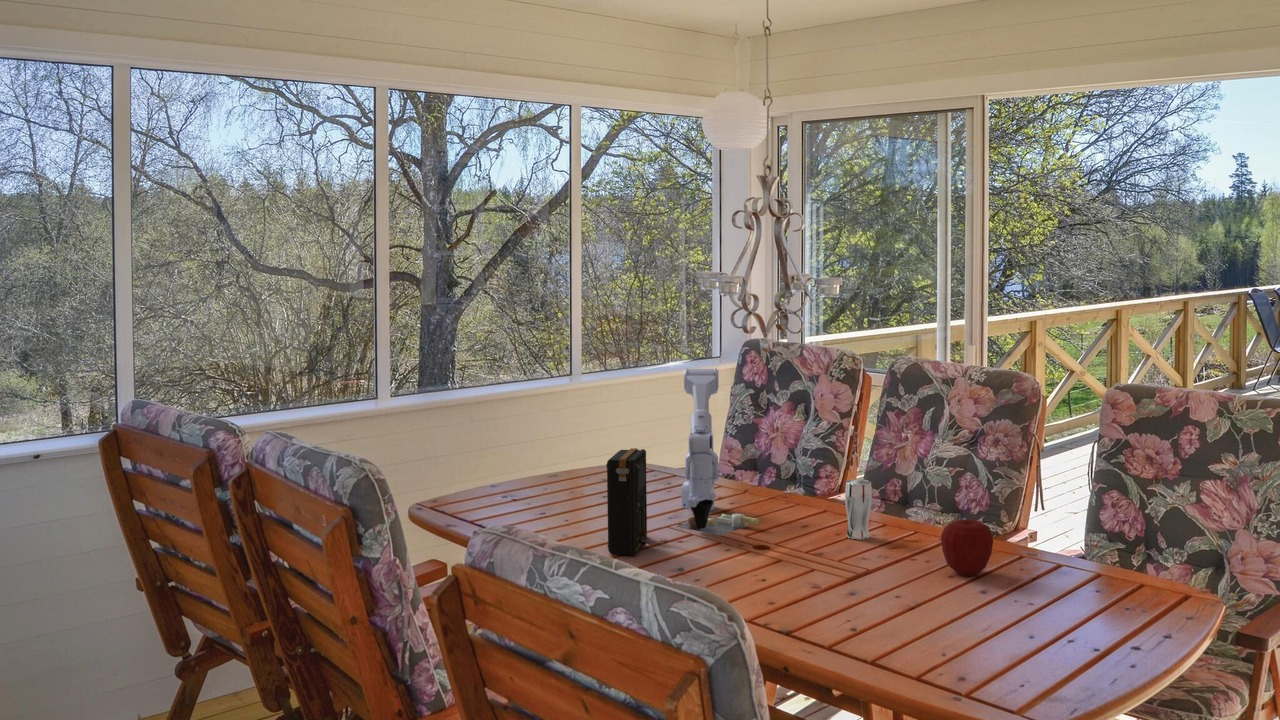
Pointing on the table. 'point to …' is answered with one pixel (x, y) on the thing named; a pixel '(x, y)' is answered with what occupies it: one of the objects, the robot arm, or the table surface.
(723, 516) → the bubble vial
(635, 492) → the voltmeter
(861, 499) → the beer glass
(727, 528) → the levelling plate
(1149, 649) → the table surface
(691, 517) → the beige knobbed bar
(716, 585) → the table surface
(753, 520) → the footscrew grey
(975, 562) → the apple
